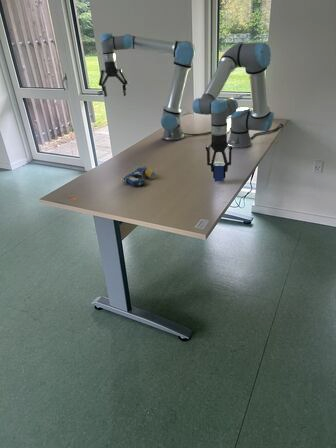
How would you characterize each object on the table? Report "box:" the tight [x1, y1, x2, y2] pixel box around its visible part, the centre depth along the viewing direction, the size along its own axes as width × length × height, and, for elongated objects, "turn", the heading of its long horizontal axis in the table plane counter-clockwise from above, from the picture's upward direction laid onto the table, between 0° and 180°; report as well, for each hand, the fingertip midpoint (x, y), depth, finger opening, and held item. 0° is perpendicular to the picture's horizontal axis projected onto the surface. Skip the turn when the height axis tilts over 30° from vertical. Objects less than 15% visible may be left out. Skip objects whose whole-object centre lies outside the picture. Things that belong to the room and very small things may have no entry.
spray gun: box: [122, 166, 157, 187], centre depth 186 cm, size 21×4×15 cm
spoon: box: [226, 117, 231, 134], centre depth 262 cm, size 35×11×2 cm, turn 159°
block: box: [213, 160, 225, 182], centre depth 173 cm, size 5×6×9 cm
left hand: (115, 96), depth 224 cm, fingers open, 13 cm apart
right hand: (219, 177), depth 175 cm, fingers closed on block, 5 cm apart
